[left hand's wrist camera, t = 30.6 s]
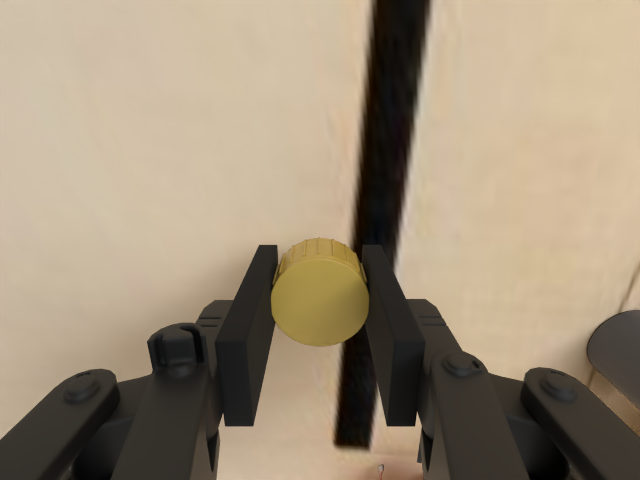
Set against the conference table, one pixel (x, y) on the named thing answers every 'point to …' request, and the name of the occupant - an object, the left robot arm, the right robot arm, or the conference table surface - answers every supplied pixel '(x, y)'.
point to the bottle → (619, 353)
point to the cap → (320, 293)
